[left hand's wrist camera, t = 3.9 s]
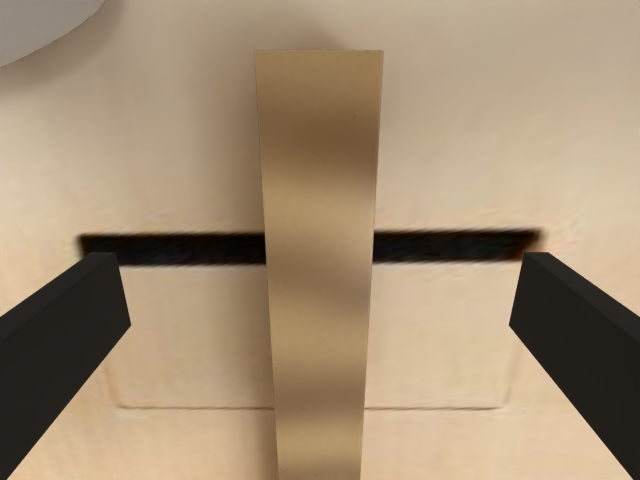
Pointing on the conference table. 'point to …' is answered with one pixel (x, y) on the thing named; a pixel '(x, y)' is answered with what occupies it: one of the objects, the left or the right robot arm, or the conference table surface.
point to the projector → (38, 24)
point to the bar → (319, 248)
